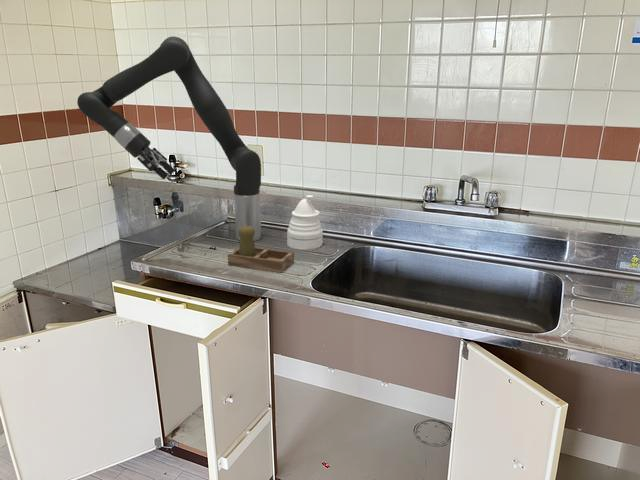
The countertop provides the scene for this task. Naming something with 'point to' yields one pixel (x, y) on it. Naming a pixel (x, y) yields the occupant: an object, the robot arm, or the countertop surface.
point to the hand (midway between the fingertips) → (169, 174)
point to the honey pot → (305, 227)
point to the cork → (247, 241)
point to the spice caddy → (263, 260)
